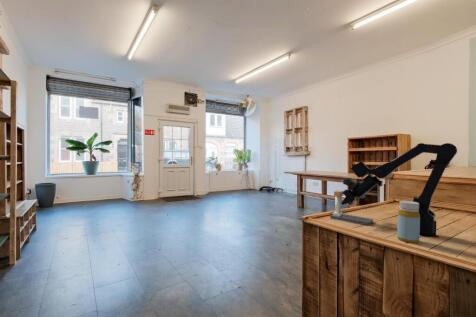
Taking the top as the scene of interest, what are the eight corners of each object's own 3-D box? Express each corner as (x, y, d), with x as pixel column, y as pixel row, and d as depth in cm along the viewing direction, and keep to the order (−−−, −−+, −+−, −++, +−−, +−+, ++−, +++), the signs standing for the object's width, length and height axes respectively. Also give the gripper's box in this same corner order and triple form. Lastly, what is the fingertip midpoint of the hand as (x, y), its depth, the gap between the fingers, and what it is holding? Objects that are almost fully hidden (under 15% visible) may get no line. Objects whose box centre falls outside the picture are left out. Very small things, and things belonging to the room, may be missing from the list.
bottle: (423, 244, 89) (424, 204, 89) (402, 242, 91) (403, 203, 91) (413, 238, 96) (414, 201, 96) (394, 236, 98) (395, 200, 98)
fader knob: (343, 214, 127) (344, 191, 127) (340, 216, 124) (340, 192, 123) (336, 213, 130) (336, 190, 130) (332, 214, 126) (332, 191, 126)
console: (373, 222, 119) (373, 219, 119) (368, 225, 113) (368, 222, 113) (336, 215, 132) (336, 212, 132) (330, 218, 125) (330, 215, 125)
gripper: (359, 172, 128) (338, 190, 136) (347, 173, 115) (324, 193, 122) (375, 188, 123) (352, 206, 131) (364, 191, 109) (339, 211, 117)
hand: (342, 204), depth 125 cm, fingers closed
